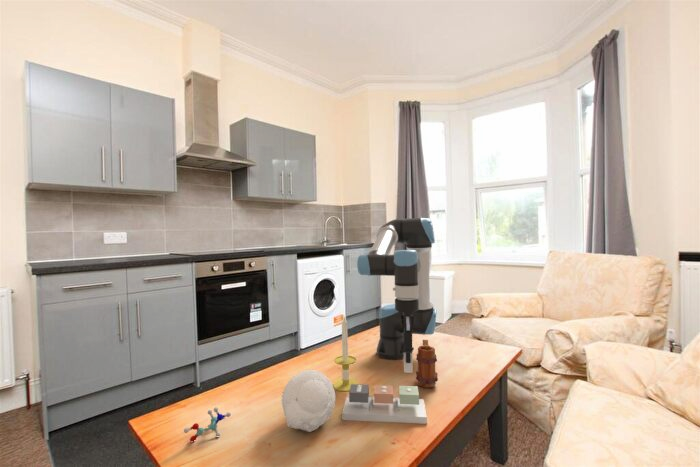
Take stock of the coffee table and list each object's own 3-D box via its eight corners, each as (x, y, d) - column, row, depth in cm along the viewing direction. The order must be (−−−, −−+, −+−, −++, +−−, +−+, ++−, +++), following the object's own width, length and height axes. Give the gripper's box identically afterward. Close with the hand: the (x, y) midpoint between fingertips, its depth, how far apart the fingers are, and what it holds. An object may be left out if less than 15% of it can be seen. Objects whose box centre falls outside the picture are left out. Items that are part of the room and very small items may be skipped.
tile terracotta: (375, 393, 111) (374, 384, 111) (393, 394, 110) (393, 385, 110) (374, 403, 105) (374, 393, 105) (393, 403, 104) (393, 393, 104)
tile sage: (399, 394, 110) (399, 385, 110) (417, 395, 109) (417, 385, 109) (399, 404, 104) (399, 393, 104) (419, 404, 103) (419, 394, 103)
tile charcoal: (351, 393, 112) (351, 383, 112) (369, 393, 111) (369, 384, 111) (349, 402, 106) (349, 392, 106) (368, 402, 105) (367, 392, 105)
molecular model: (197, 412, 103) (208, 390, 100) (224, 425, 104) (236, 404, 101) (175, 446, 92) (187, 422, 89) (207, 460, 93) (219, 437, 90)
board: (346, 402, 114) (346, 392, 114) (423, 405, 111) (423, 395, 111) (342, 419, 103) (342, 409, 103) (427, 423, 100) (426, 413, 100)
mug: (438, 391, 120) (437, 350, 120) (416, 390, 122) (415, 349, 122) (436, 374, 135) (435, 337, 135) (416, 373, 136) (415, 337, 136)
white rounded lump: (326, 403, 114) (325, 357, 114) (354, 428, 99) (353, 374, 99) (270, 422, 103) (268, 371, 103) (292, 453, 88) (290, 393, 88)
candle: (346, 377, 134) (344, 310, 134) (364, 385, 127) (362, 314, 127) (327, 385, 127) (325, 315, 127) (345, 394, 120) (343, 320, 120)
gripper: (394, 294, 113) (396, 363, 113) (395, 301, 100) (396, 380, 100) (416, 294, 112) (418, 364, 112) (420, 302, 100) (422, 380, 99)
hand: (408, 371), depth 106 cm, fingers closed
